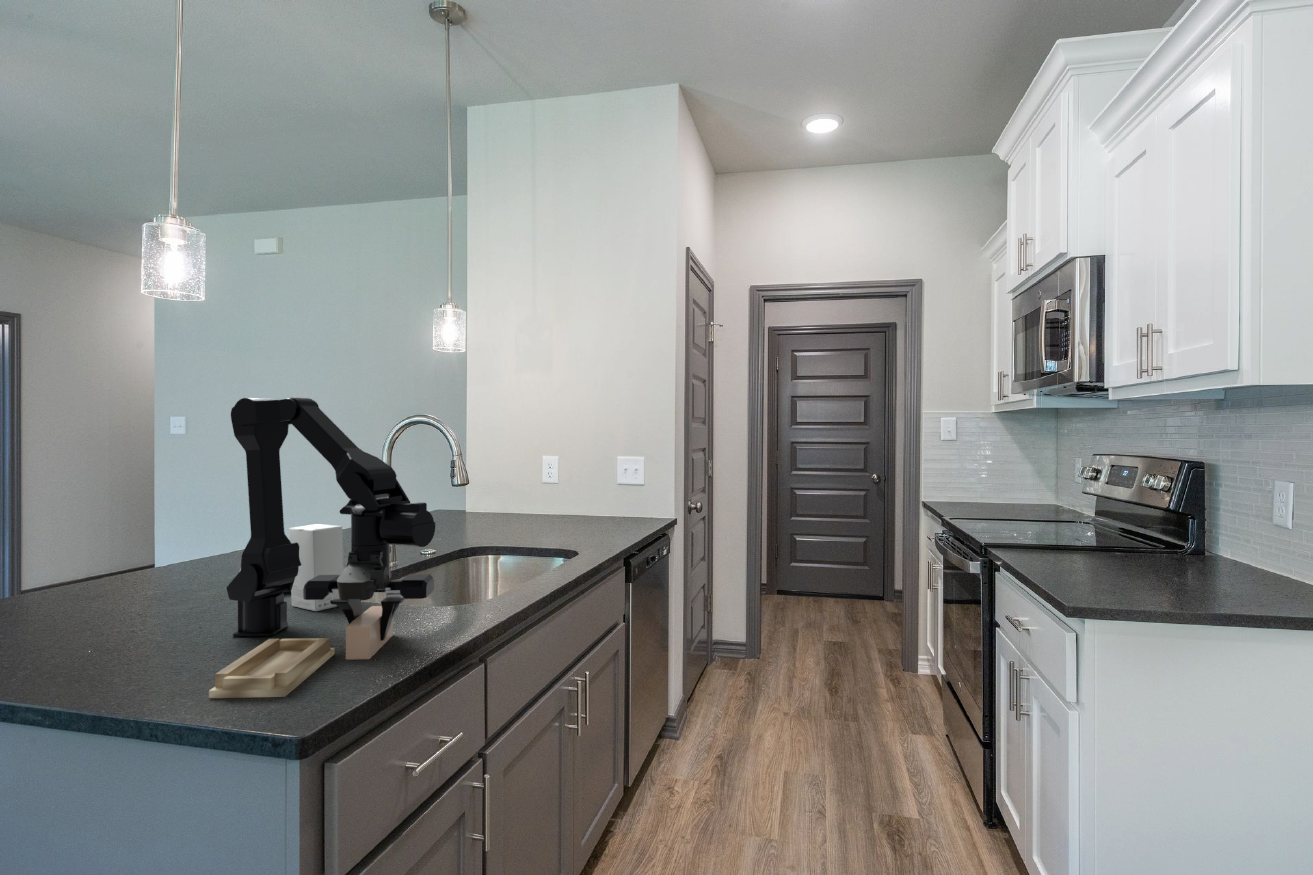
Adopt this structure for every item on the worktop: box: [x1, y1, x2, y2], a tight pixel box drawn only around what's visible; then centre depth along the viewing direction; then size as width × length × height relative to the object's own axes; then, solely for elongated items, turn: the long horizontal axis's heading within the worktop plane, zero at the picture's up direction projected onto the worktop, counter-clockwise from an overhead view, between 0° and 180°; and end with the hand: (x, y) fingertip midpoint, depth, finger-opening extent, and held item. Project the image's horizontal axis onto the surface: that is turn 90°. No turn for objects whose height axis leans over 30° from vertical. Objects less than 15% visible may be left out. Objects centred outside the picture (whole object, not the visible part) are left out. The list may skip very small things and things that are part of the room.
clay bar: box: [345, 605, 394, 660], centre depth 113 cm, size 4×12×5 cm, turn 4°
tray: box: [208, 637, 336, 699], centre depth 100 cm, size 10×17×3 cm, turn 4°
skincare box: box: [288, 523, 344, 612], centre depth 137 cm, size 8×7×16 cm
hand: (370, 640), depth 113 cm, fingers closed on clay bar, 3 cm apart
